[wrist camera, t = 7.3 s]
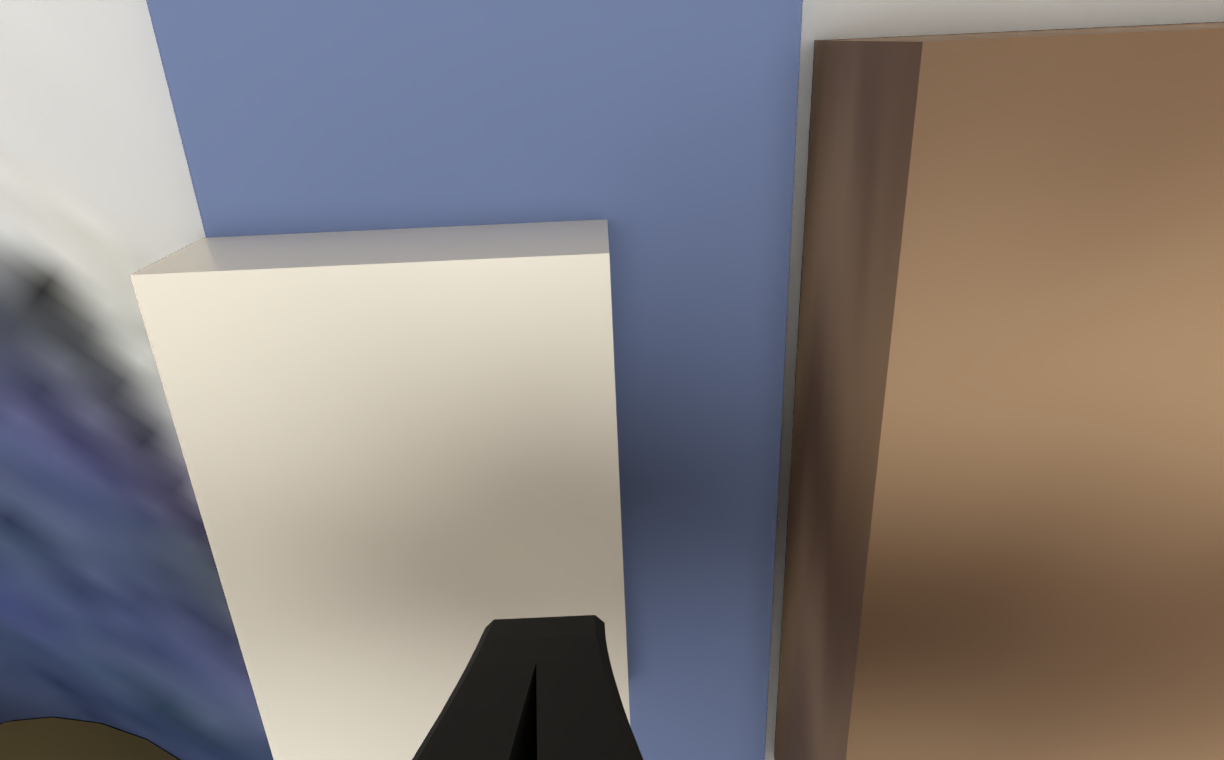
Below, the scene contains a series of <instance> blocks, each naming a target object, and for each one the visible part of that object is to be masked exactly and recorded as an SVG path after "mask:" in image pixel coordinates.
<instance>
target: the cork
mask: <svg viewBox="0 0 1224 760" xmlns="http://www.w3.org/2000/svg"><path fill="white" fill-rule="evenodd" d="M0 760H178V759H177V758H175V757H173V756H172V755H170V754H169V753H167V752H165V751H164V750H162V749H161V748H159V747H157V746H156V745H154V744H152V743H151V742H149V741H148V740H145V739H143V738H140V737H137V736H134V735H131V734H128V733H126V732H123V731H120V730H117V729H114V728H111V727H109V726H106V725H103V724H99V723H91V722H84V721H76V720H68V719H61V718H53V717H51V718H41V719H31V720H20V721H10V722H5V723H3V724H0Z"/></svg>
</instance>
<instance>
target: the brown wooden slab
mask: <svg viewBox="0 0 1224 760" xmlns="http://www.w3.org/2000/svg"><path fill="white" fill-rule="evenodd" d="M774 758H775V760H1224V22H1210V23H1188V24H1166V25H1144V26H1122V27H1100V28H1078V29H1056V30H1034V31H1012V32H990V33H968V34H946V35H925V36H903V37H881V38H859V39H837V40H815V49H814V67H813V85H812V102H811V120H810V137H809V155H808V173H807V190H806V208H805V225H804V243H803V261H802V278H801V296H800V313H799V331H798V349H797V366H796V384H795V401H794V419H793V437H792V454H791V472H790V489H789V507H788V525H787V542H786V560H785V577H784V595H783V613H782V630H781V648H780V665H779V683H778V700H777V718H776V736H775V753H774Z"/></svg>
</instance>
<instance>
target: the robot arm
mask: <svg viewBox="0 0 1224 760" xmlns="http://www.w3.org/2000/svg"><path fill="white" fill-rule="evenodd" d="M412 760H643V757H642V755H641V752H640V750H639V747H638V744H637V742H636V739H635V737H634V734H633V732H632V729H631V727H630V724H629V721H628V719H627V716H626V713H625V710H624V707H623V704H622V701H621V698H620V695H619V691H618V688H617V685H616V682H615V678H614V675H613V671H612V667H611V663H610V659H609V654H608V649H607V643H606V637H605V622H603V621H602V620H601V619H600V618H598V617H597V616H596V615H582V616H560V617H538V618H516V619H494V620H493V621H492V622H491V623H490V624H489V625H488V626H486V627H485V629H484V632H483V634H482V636H481V638H480V640H479V642H478V644H477V646H476V648H475V650H474V652H473V654H472V656H471V658H470V660H469V662H468V664H467V666H466V668H465V670H464V672H463V674H462V676H461V677H460V679H459V681H458V683H457V685H456V686H455V688H454V690H453V692H452V694H451V695H450V697H449V699H448V701H447V702H446V704H445V706H444V708H443V709H442V711H441V713H440V715H439V716H438V718H437V720H436V721H435V723H434V724H433V726H432V728H431V729H430V731H429V733H428V734H427V736H426V737H425V739H424V741H423V742H422V744H421V746H420V747H419V749H418V751H417V752H416V754H415V755H414V757H413V759H412Z"/></svg>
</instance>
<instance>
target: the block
mask: <svg viewBox="0 0 1224 760" xmlns="http://www.w3.org/2000/svg"><path fill="white" fill-rule="evenodd" d="M130 278H131V281H132V284H133V288H134V291H135V294H136V298H137V301H138V305H139V308H140V311H141V315H142V318H143V321H144V325H145V328H146V331H147V335H148V338H149V342H150V345H151V348H152V352H153V355H154V358H155V362H156V365H157V368H158V372H159V375H160V379H161V382H162V385H163V389H164V392H165V395H166V399H167V402H168V405H169V409H170V412H171V416H172V419H173V422H174V426H175V429H176V432H177V436H178V439H179V442H180V446H181V449H182V453H183V456H184V459H185V463H186V466H187V469H188V473H189V476H190V479H191V483H192V486H193V490H194V493H195V496H196V500H197V503H198V506H199V510H200V513H201V516H202V520H203V523H204V526H205V530H206V533H207V537H208V540H209V543H210V547H211V550H212V553H213V557H214V560H215V563H216V567H217V570H218V574H219V577H220V580H221V584H222V587H223V590H224V594H225V597H226V600H227V604H228V607H229V611H230V614H231V617H232V621H233V624H234V627H235V631H236V634H237V637H238V641H239V644H240V648H241V651H242V654H243V658H244V661H245V664H246V668H247V671H248V674H249V678H250V681H251V685H252V688H253V691H254V695H255V698H256V701H257V705H258V708H259V711H260V715H261V718H262V722H263V725H264V728H265V732H266V735H267V738H268V742H269V745H270V748H271V752H272V755H273V759H274V760H412V759H413V757H414V755H415V754H416V752H417V751H418V749H419V747H420V746H421V744H422V742H423V741H424V739H425V737H426V736H427V734H428V733H429V731H430V729H431V728H432V726H433V724H434V723H435V721H436V720H437V718H438V716H439V715H440V713H441V711H442V709H443V708H444V706H445V704H446V702H447V701H448V699H449V697H450V695H451V694H452V692H453V690H454V688H455V686H456V685H457V683H458V681H459V679H460V677H461V676H462V674H463V672H464V670H465V668H466V666H467V664H468V662H469V660H470V658H471V656H472V654H473V652H474V650H475V648H476V646H477V644H478V642H479V640H480V638H481V636H482V634H483V632H484V629H485V627H486V626H488V625H489V624H490V623H491V622H492V621H493V620H494V619H516V618H538V617H560V616H582V615H596V616H597V617H598V618H600V619H601V620H602V621H603V622H605V637H606V643H607V649H608V654H609V659H610V663H611V667H612V671H613V675H614V678H615V682H616V685H617V688H618V691H619V695H620V698H621V701H622V704H623V707H624V710H625V713H626V716H627V719H628V721H629V724H630V708H629V686H628V663H627V641H626V618H625V596H624V573H623V550H622V528H621V505H620V483H619V460H618V438H617V415H616V392H615V370H614V347H613V325H612V302H611V280H610V257H609V239H608V221H607V219H603V220H581V221H559V222H538V223H516V224H494V225H472V226H450V227H428V228H407V229H385V230H363V231H341V232H319V233H297V234H276V235H254V236H232V237H210V238H202V239H200V240H198V241H196V242H194V243H192V244H190V245H188V246H186V247H184V248H182V249H180V250H178V251H176V252H174V253H172V254H170V255H169V256H167V257H165V258H163V259H161V260H159V261H157V262H155V263H153V264H151V265H149V266H147V267H145V268H143V269H141V270H139V271H137V272H135V273H133V274H131V275H130Z"/></svg>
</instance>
